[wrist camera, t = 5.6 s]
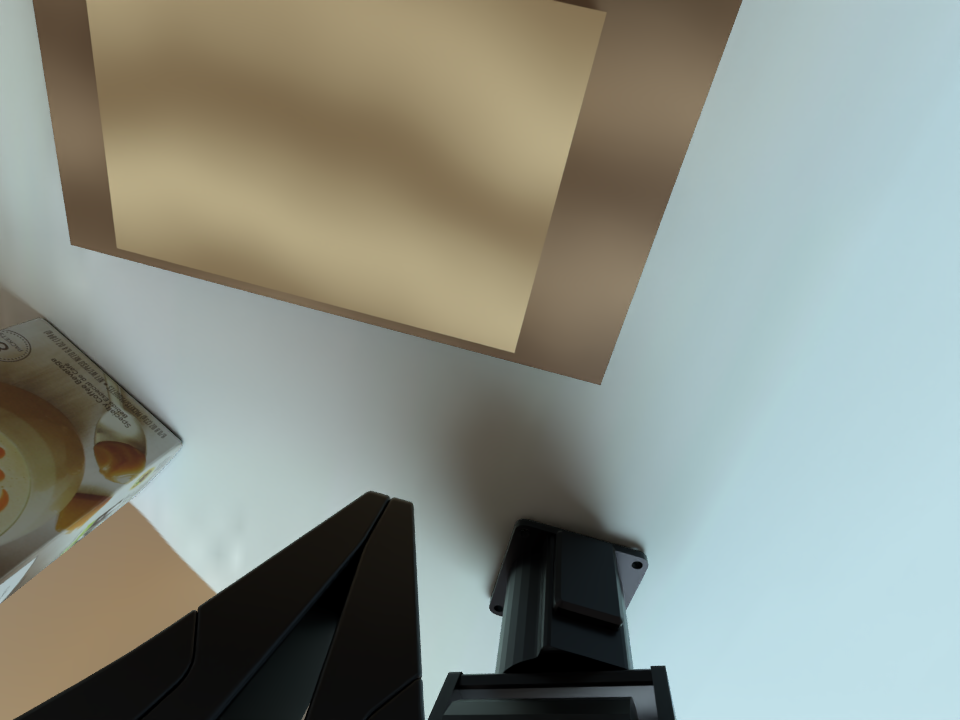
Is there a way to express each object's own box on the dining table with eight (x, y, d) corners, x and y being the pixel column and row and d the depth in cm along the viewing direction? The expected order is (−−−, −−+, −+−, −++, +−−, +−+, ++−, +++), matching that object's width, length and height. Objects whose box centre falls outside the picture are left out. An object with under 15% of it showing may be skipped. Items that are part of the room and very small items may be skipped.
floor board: (597, 368, 20) (603, 408, 17) (102, 238, 21) (27, 253, 18) (776, -128, 13) (837, -205, 10) (37, -277, 14) (-101, -386, 11)
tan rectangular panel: (518, 337, 18) (514, 353, 17) (148, 240, 19) (116, 247, 18) (602, 24, 14) (606, 12, 13) (118, -84, 15) (72, -107, 13)
